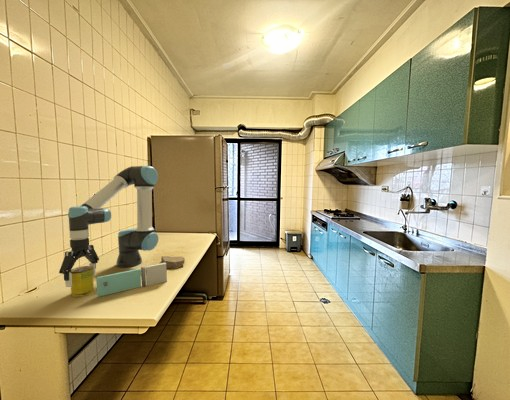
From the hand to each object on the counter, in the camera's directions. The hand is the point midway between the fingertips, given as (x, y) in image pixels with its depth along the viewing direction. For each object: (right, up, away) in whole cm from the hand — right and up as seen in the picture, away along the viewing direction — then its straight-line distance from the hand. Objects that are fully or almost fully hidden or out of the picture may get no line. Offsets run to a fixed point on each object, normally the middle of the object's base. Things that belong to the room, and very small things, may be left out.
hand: (81, 281), depth 119 cm
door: (+19, -5, +1) cm, 19 cm away
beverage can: (0, -6, +1) cm, 6 cm away
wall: (+28, -5, +9) cm, 30 cm away
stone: (+31, -3, +41) cm, 52 cm away
